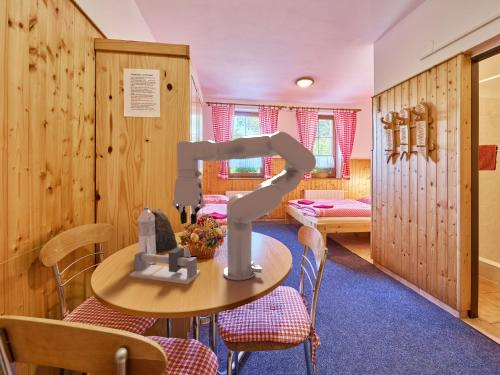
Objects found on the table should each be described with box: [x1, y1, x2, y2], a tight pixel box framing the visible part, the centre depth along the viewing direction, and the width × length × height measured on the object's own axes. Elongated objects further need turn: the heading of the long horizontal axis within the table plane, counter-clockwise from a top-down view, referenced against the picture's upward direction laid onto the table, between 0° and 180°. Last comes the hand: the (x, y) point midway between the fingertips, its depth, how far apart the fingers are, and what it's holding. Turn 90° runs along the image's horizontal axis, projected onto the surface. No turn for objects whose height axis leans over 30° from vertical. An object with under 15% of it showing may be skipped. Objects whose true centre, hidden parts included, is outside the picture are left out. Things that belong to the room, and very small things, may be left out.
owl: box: [151, 208, 178, 254], centre depth 129 cm, size 13×13×20 cm
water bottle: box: [137, 206, 157, 265], centre depth 108 cm, size 7×7×25 cm
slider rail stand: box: [129, 252, 201, 285], centre depth 98 cm, size 25×10×8 cm, turn 76°
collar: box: [167, 246, 185, 272], centre depth 96 cm, size 3×6×8 cm, turn 165°
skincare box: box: [184, 230, 191, 258], centre depth 119 cm, size 6×4×12 cm
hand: (188, 223), depth 94 cm, fingers open, 3 cm apart
